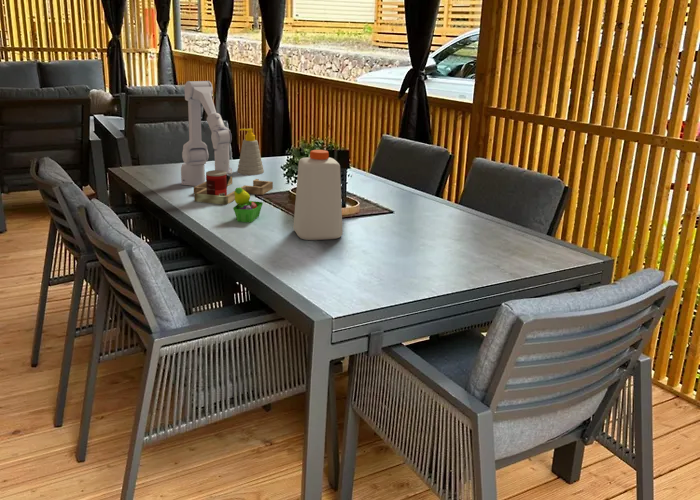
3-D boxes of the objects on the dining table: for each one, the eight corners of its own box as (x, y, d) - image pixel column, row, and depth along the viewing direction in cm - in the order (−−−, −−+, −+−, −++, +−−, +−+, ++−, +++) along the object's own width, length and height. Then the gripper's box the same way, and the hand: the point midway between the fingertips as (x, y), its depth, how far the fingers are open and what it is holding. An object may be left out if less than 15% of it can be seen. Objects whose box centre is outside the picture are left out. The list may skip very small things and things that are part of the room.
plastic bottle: (299, 241, 214) (301, 155, 205) (291, 228, 227) (291, 147, 218) (345, 239, 218) (348, 155, 209) (333, 226, 231) (336, 146, 222)
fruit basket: (253, 224, 231) (252, 192, 227) (229, 221, 232) (228, 190, 229) (263, 215, 241) (263, 185, 238) (240, 213, 243) (240, 183, 239)
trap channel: (182, 200, 258) (182, 192, 257) (218, 182, 289) (218, 175, 288) (244, 206, 252) (244, 198, 251) (274, 187, 284) (274, 180, 283)
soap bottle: (234, 170, 314) (233, 127, 308) (259, 169, 319) (259, 126, 313) (241, 175, 303) (240, 131, 297) (267, 174, 308) (267, 130, 302)
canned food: (229, 197, 264) (228, 170, 260) (224, 202, 256) (223, 175, 253) (210, 196, 264) (209, 169, 261) (204, 201, 257) (203, 174, 253)
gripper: (223, 164, 254) (224, 198, 258) (238, 157, 267) (239, 190, 271) (206, 162, 255) (208, 197, 259) (222, 156, 269) (223, 189, 273)
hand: (222, 193), depth 266 cm, fingers closed
